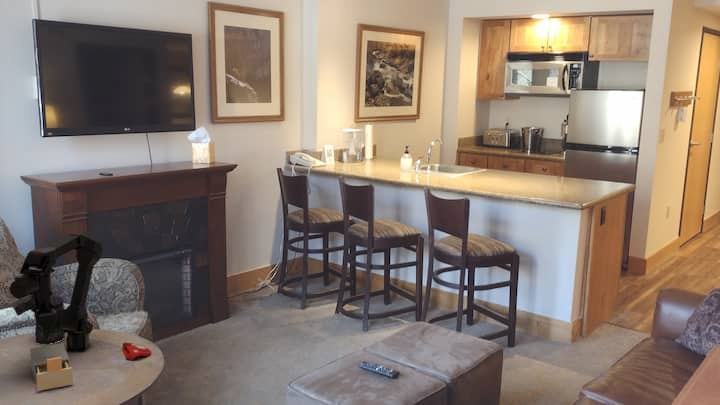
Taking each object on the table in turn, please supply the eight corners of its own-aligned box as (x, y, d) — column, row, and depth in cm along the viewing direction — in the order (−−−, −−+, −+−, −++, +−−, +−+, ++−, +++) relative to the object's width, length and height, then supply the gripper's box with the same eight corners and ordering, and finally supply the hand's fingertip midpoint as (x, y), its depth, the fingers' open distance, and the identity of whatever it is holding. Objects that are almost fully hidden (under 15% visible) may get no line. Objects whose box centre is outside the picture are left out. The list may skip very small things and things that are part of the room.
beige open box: (33, 372, 199) (31, 345, 197) (66, 366, 204) (65, 339, 202) (37, 391, 187) (36, 362, 185) (73, 384, 192) (71, 356, 190)
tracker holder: (156, 347, 221) (145, 352, 211) (152, 359, 221) (141, 365, 211) (125, 337, 222) (113, 342, 212) (121, 349, 221) (109, 354, 211)
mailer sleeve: (31, 365, 205) (30, 348, 203) (63, 359, 210) (63, 343, 209) (35, 382, 193) (34, 364, 192) (69, 376, 198) (69, 358, 197)
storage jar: (38, 335, 229) (36, 297, 226) (67, 333, 232) (65, 296, 229) (33, 346, 219) (31, 306, 217) (63, 343, 222) (61, 305, 220)
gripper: (10, 283, 201) (13, 328, 204) (16, 301, 186) (19, 349, 189) (47, 279, 207) (50, 322, 210) (56, 295, 192) (58, 342, 195)
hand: (44, 333), depth 201 cm, fingers open, 9 cm apart
